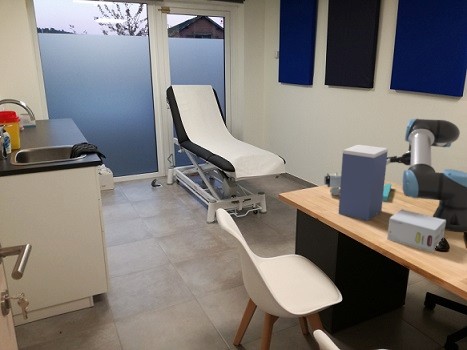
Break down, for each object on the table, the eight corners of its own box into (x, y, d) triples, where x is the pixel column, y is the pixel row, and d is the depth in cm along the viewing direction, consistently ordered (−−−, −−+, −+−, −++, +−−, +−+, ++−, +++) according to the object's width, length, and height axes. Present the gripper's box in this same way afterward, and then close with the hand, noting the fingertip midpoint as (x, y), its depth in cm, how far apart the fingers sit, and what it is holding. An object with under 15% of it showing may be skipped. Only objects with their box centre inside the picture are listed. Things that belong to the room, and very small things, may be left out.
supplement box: (386, 239, 152) (388, 217, 149) (399, 229, 161) (401, 208, 158) (432, 253, 141) (435, 229, 138) (443, 241, 150) (446, 219, 147)
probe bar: (385, 188, 216) (385, 183, 215) (390, 189, 215) (391, 183, 214) (380, 201, 195) (381, 195, 194) (386, 202, 194) (387, 196, 193)
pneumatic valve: (323, 193, 207) (324, 171, 204) (345, 193, 207) (346, 171, 204) (325, 196, 202) (326, 174, 199) (347, 196, 202) (349, 174, 199)
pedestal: (352, 204, 190) (357, 144, 182) (381, 210, 181) (387, 148, 173) (338, 213, 178) (343, 150, 170) (368, 221, 170) (374, 154, 161)
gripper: (431, 167, 220) (421, 175, 205) (387, 161, 236) (374, 168, 220) (433, 154, 218) (422, 161, 203) (388, 149, 234) (375, 155, 218)
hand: (397, 165), depth 212 cm, fingers open, 13 cm apart
